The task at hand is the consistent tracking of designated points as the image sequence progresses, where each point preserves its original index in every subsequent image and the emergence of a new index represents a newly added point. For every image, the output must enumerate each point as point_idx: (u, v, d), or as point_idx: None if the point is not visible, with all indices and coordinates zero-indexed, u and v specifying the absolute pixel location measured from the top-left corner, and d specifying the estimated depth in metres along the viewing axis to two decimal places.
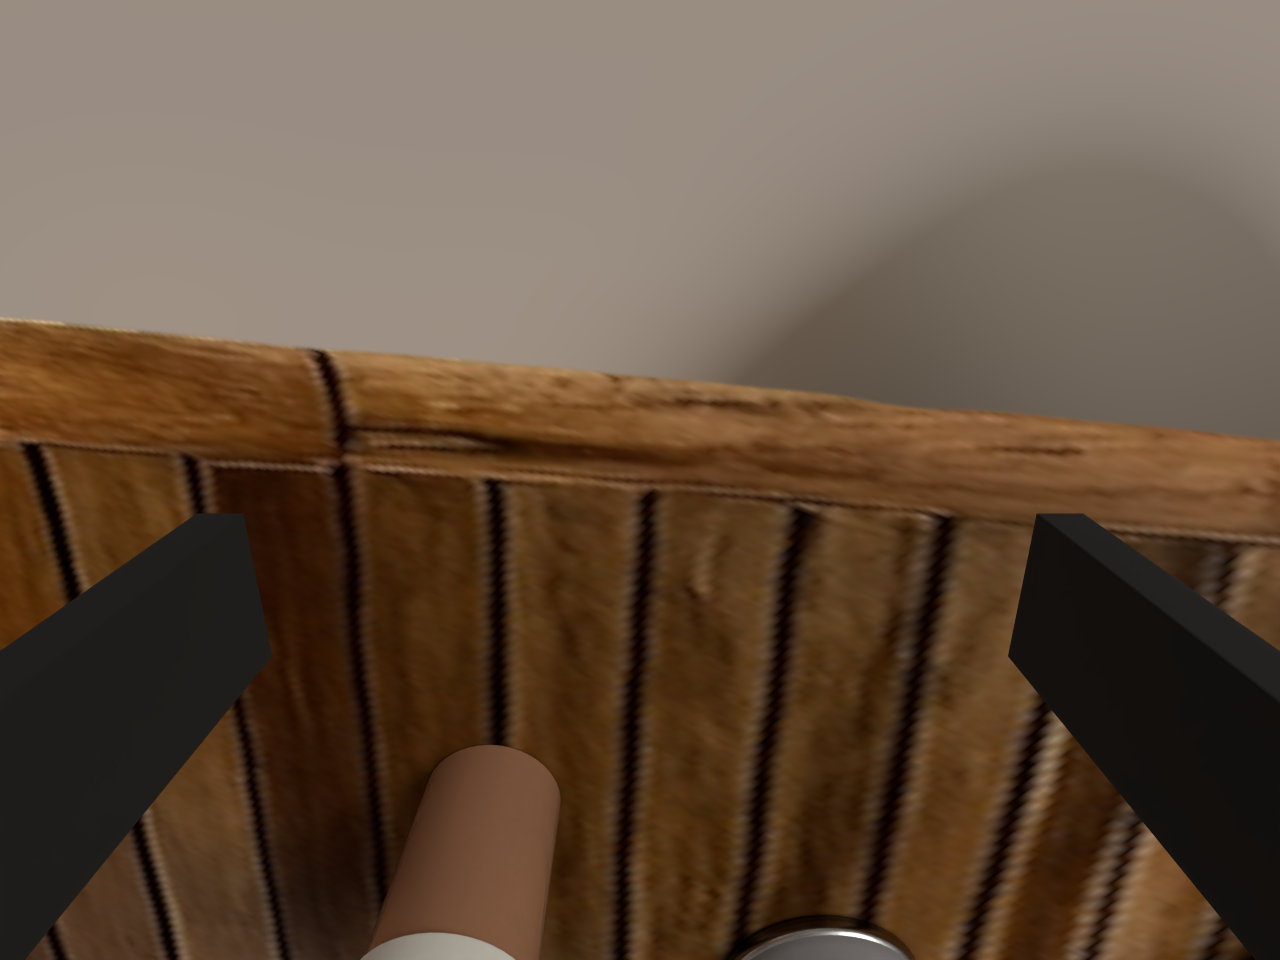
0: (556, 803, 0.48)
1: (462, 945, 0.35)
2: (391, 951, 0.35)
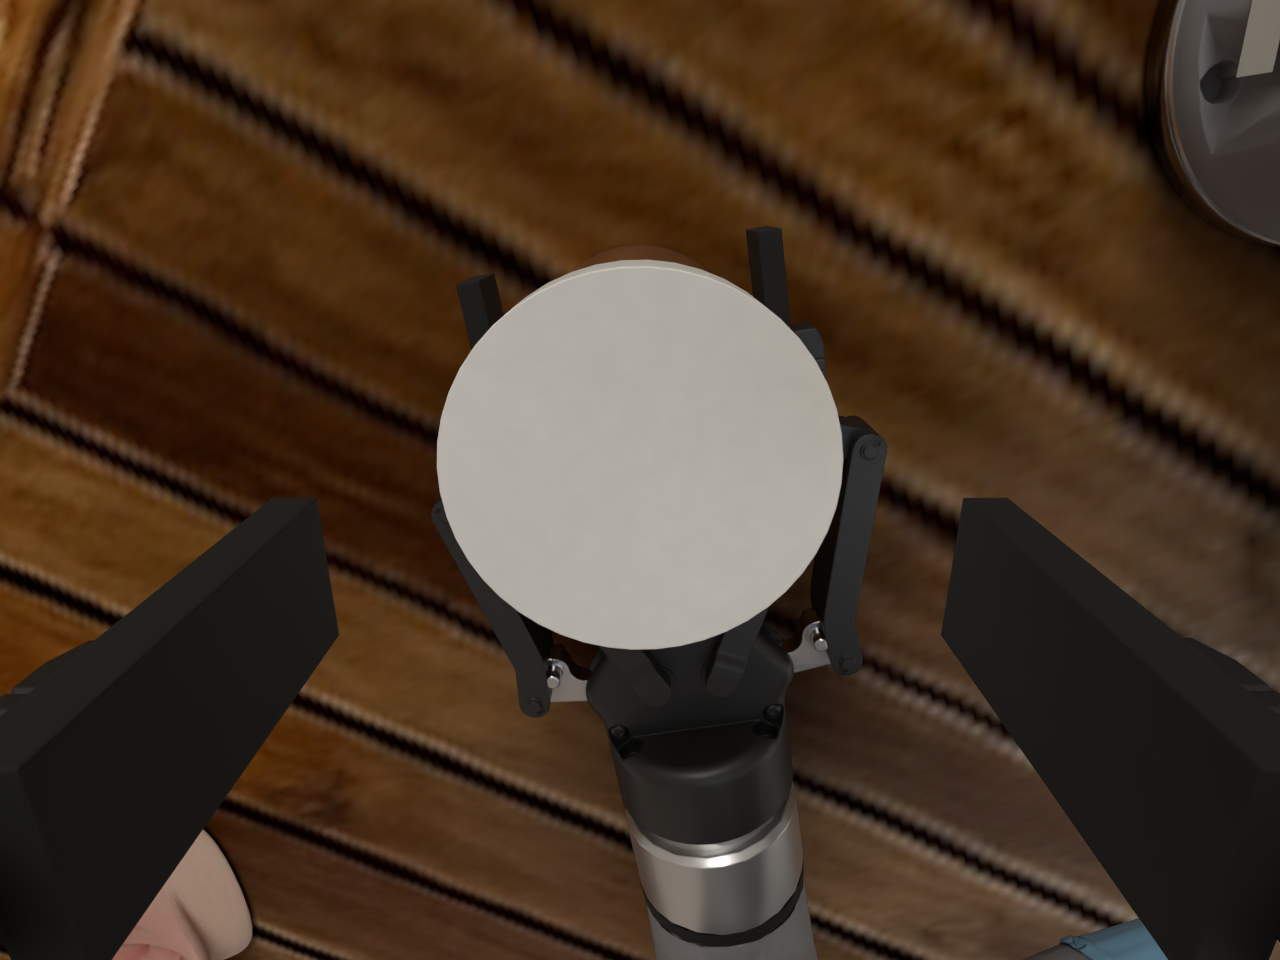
0: (671, 251, 0.29)
1: None
2: None
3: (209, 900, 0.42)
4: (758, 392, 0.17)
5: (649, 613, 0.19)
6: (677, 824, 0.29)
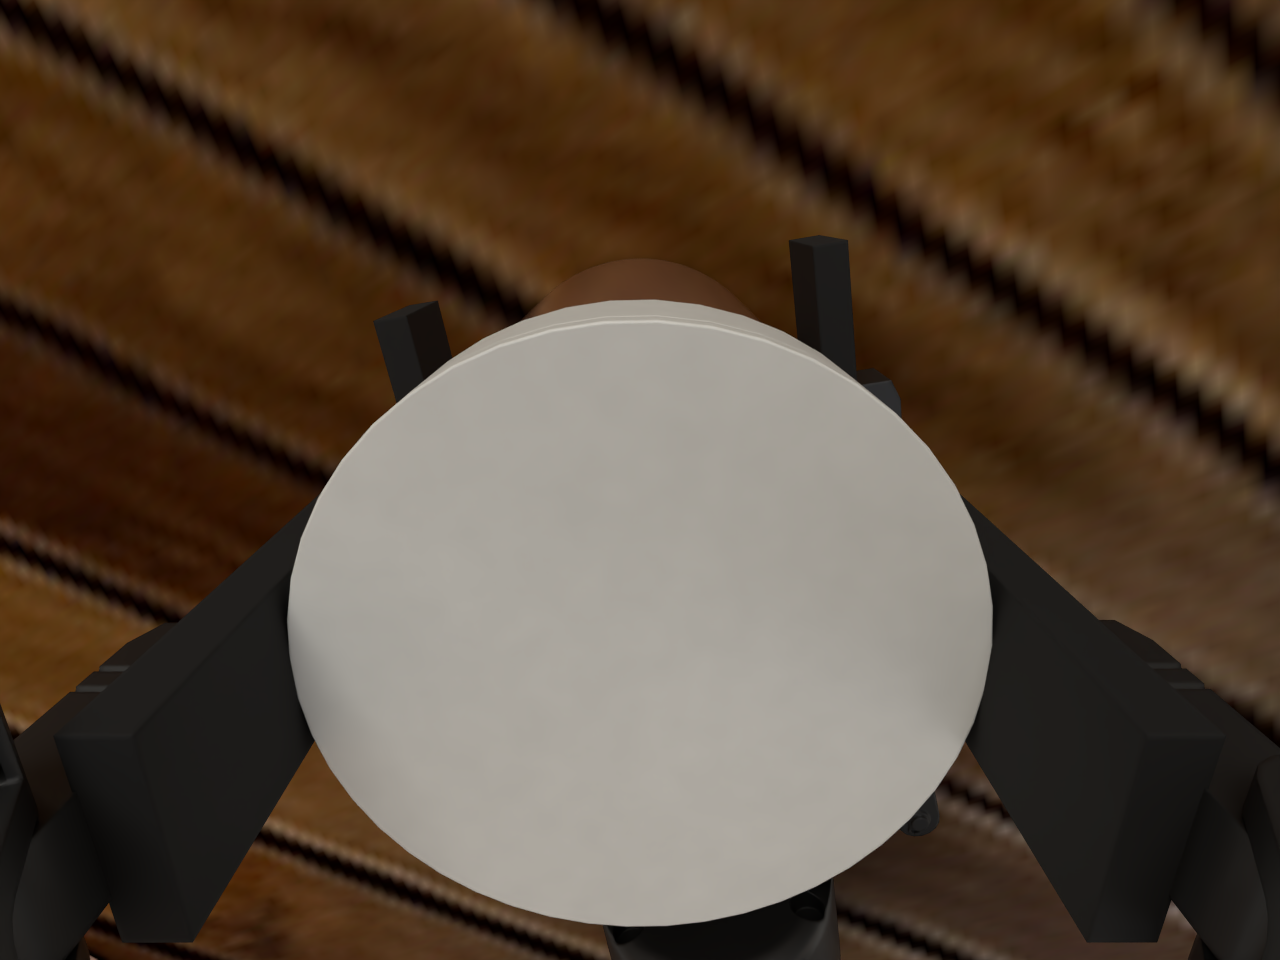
0: (682, 267, 0.22)
1: None
2: None
3: None
4: (850, 539, 0.10)
5: (655, 876, 0.12)
6: None
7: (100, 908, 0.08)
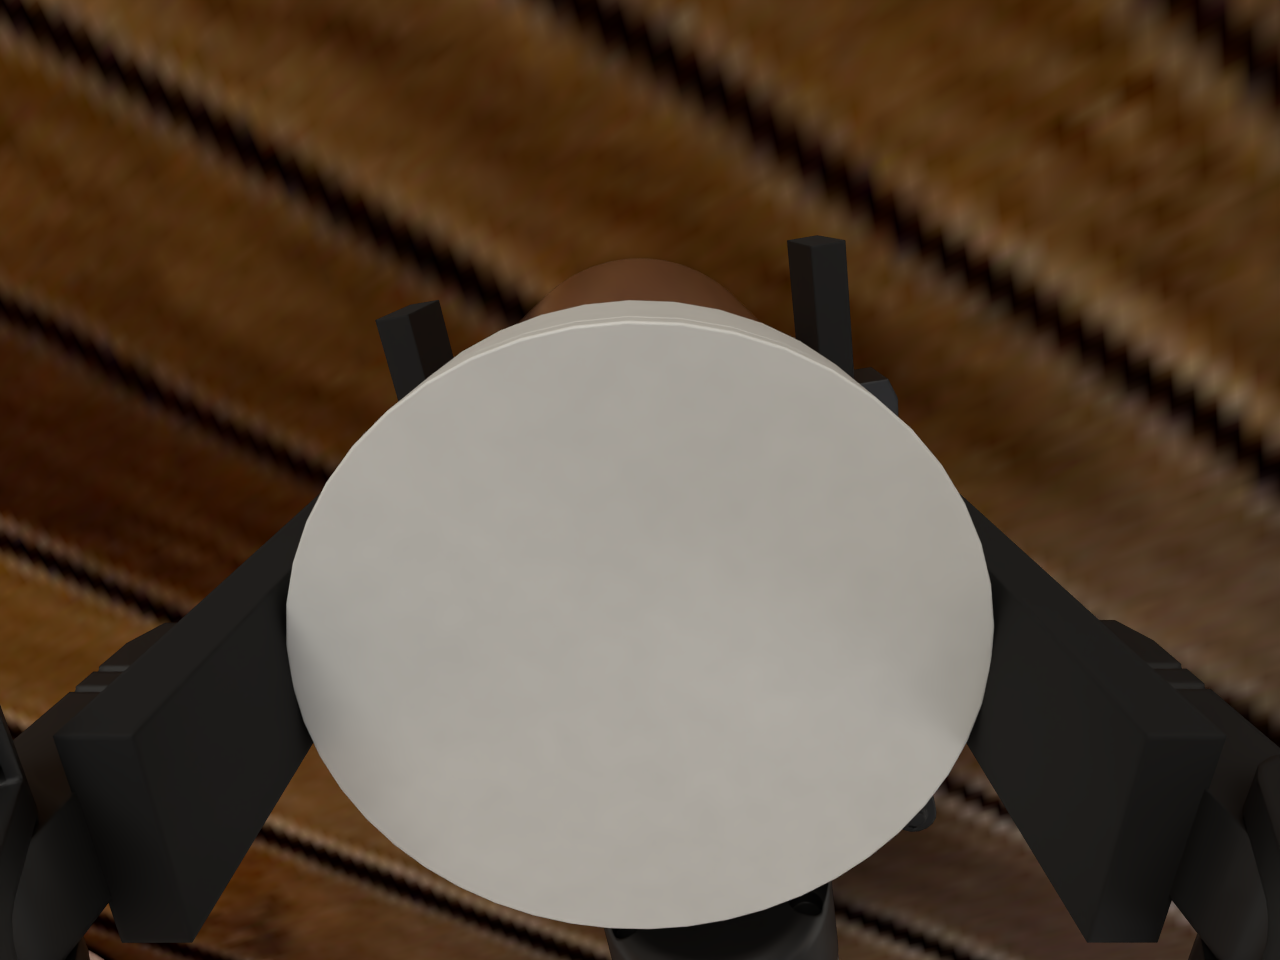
0: (681, 267, 0.22)
1: None
2: None
3: None
4: (585, 445, 0.09)
5: (879, 757, 0.11)
6: None
7: (99, 908, 0.08)
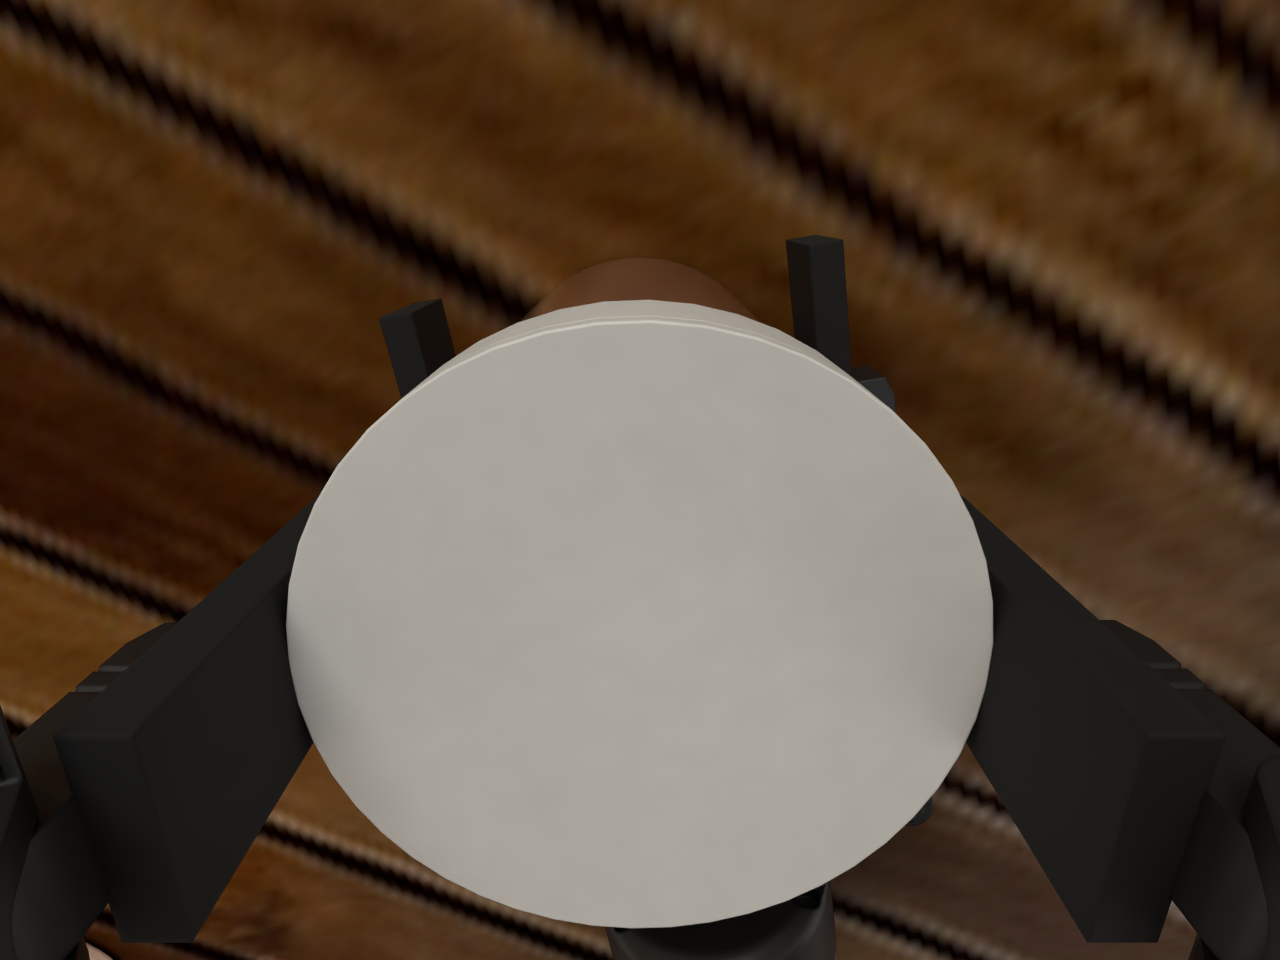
0: (681, 266, 0.22)
1: None
2: None
3: None
4: (394, 621, 0.10)
5: (858, 507, 0.09)
6: None
7: (100, 908, 0.08)
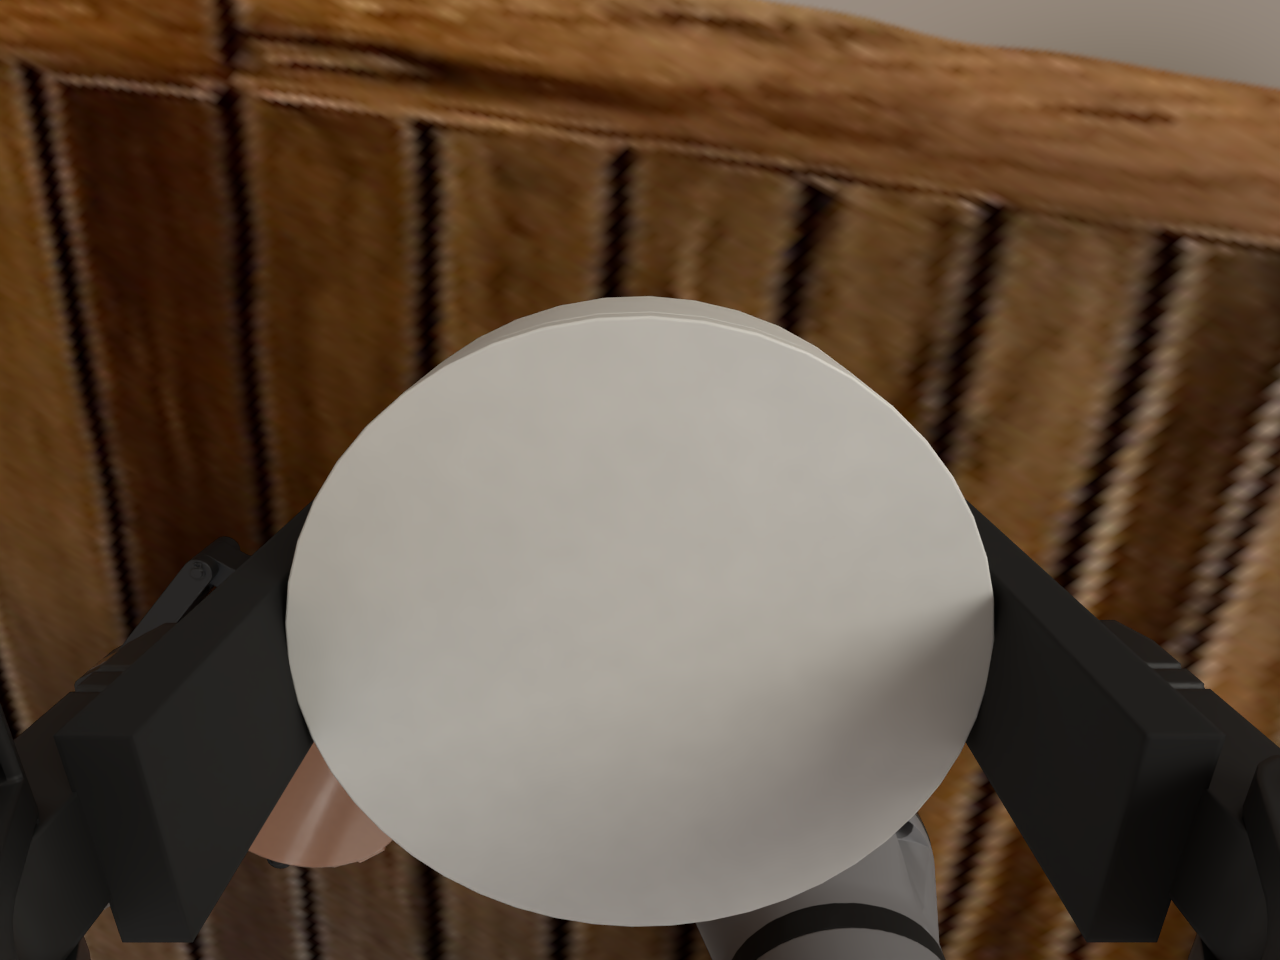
0: None
1: None
2: None
3: None
4: (393, 618, 0.10)
5: (859, 503, 0.09)
6: None
7: (101, 908, 0.08)
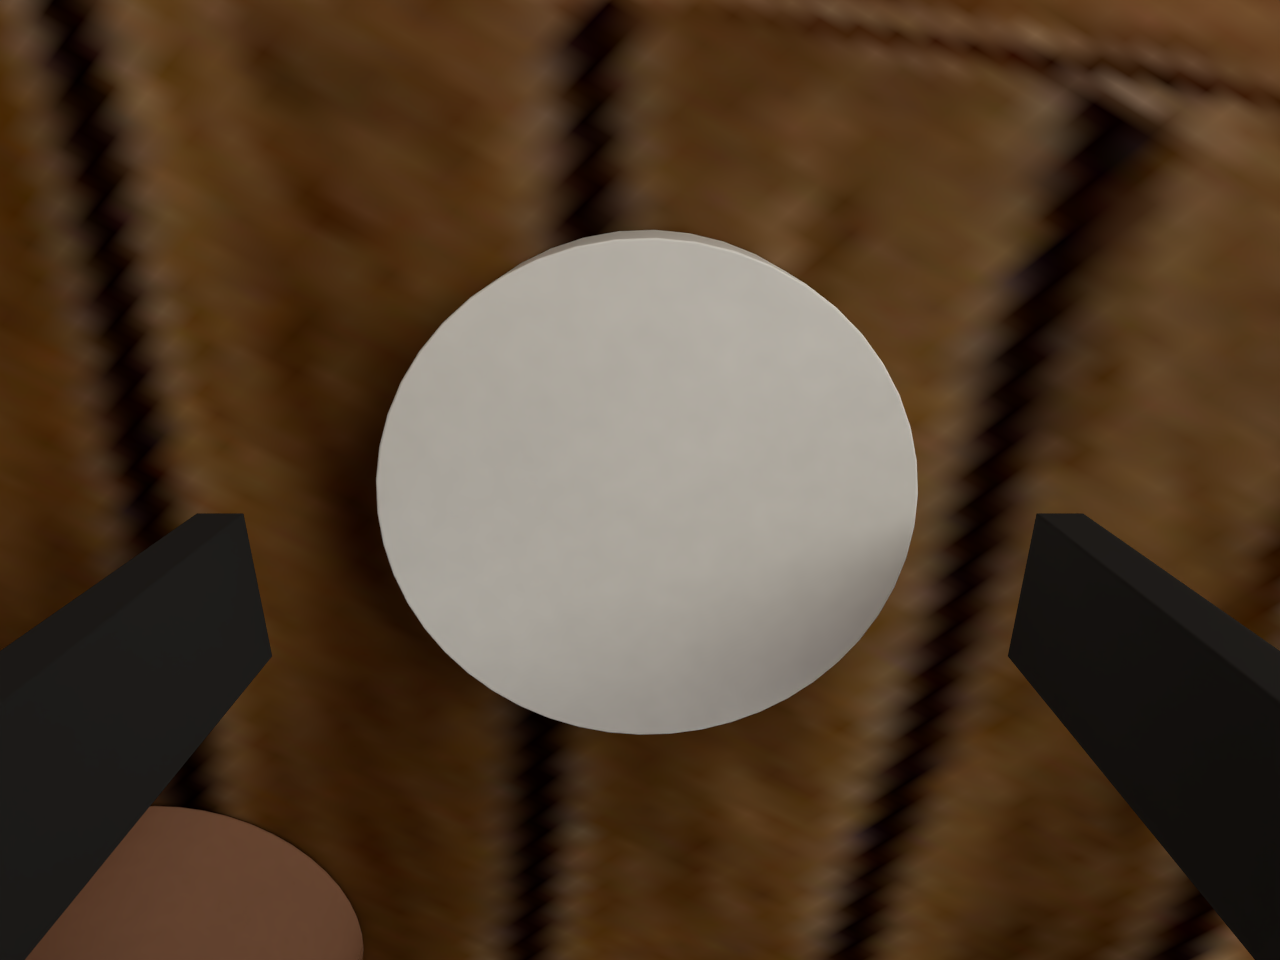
0: None
1: None
2: None
3: None
4: (459, 475, 0.13)
5: (812, 384, 0.12)
6: None
7: None
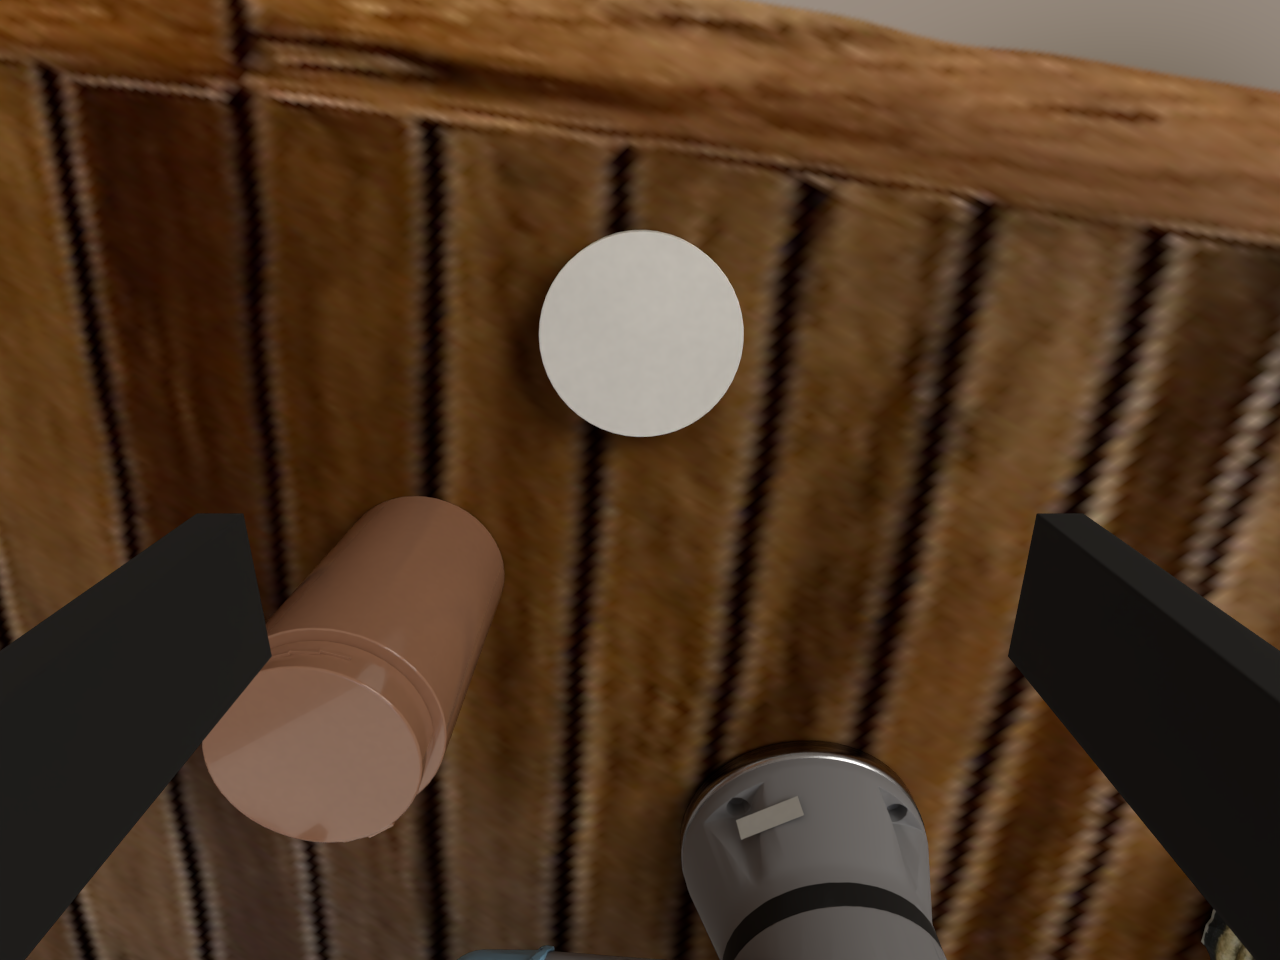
0: (497, 570, 0.40)
1: None
2: None
3: None
4: (570, 320, 0.35)
5: (701, 284, 0.34)
6: None
7: None
